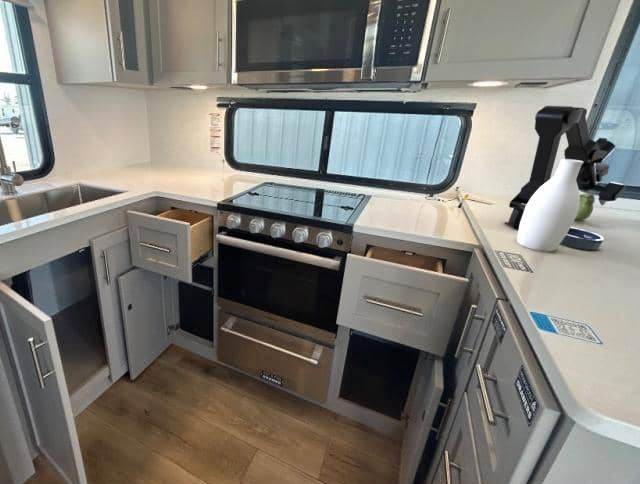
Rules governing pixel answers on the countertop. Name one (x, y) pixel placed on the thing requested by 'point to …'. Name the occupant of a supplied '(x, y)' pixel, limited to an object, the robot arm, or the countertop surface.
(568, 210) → the bottle
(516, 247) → the countertop surface
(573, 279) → the countertop surface
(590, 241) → the holder
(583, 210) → the pear
